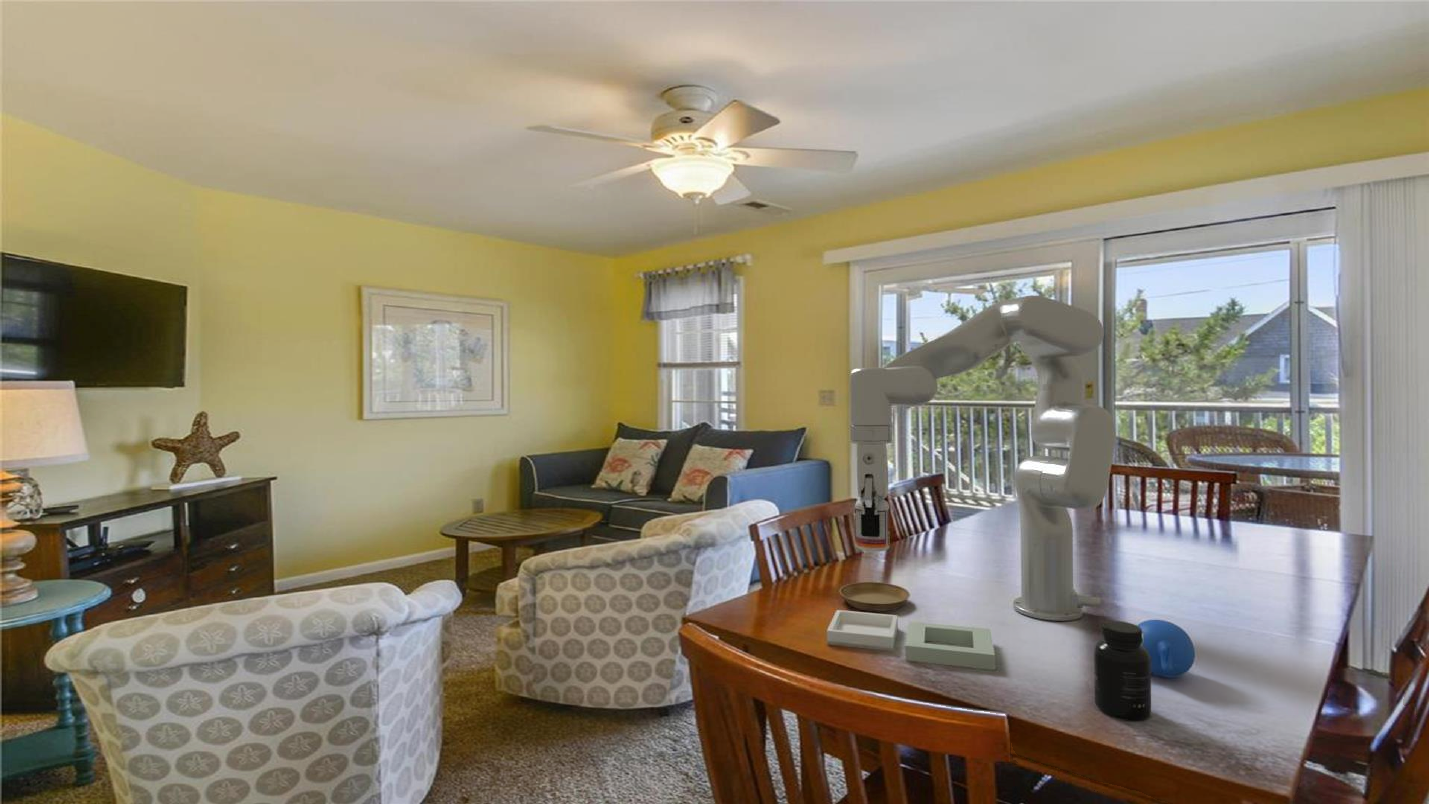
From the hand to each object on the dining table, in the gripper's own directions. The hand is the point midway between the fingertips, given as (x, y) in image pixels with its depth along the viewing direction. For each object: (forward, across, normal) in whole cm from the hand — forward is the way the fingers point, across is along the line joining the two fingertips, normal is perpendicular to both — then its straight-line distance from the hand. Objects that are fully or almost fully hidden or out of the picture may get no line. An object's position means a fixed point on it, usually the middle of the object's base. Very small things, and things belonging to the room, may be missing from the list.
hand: (872, 531), depth 121 cm
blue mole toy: (+20, -3, -43) cm, 48 cm away
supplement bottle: (+20, -18, -36) cm, 45 cm away
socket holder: (+20, -3, -13) cm, 24 cm away
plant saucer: (+20, +21, +2) cm, 29 cm away
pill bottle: (+3, 0, 0) cm, 3 cm away
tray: (+20, +1, +2) cm, 20 cm away
